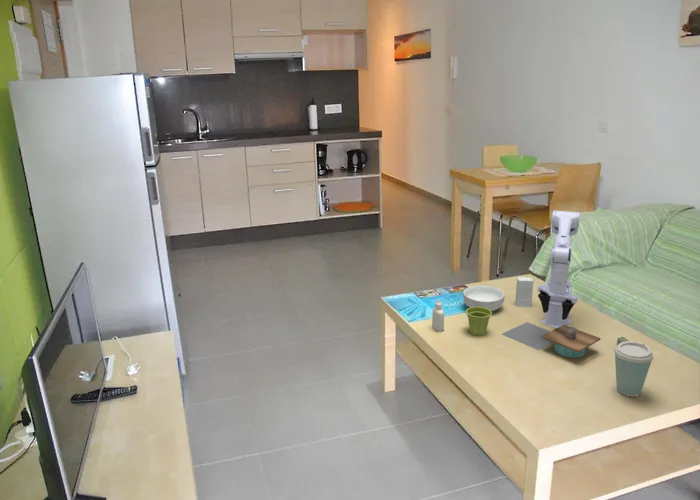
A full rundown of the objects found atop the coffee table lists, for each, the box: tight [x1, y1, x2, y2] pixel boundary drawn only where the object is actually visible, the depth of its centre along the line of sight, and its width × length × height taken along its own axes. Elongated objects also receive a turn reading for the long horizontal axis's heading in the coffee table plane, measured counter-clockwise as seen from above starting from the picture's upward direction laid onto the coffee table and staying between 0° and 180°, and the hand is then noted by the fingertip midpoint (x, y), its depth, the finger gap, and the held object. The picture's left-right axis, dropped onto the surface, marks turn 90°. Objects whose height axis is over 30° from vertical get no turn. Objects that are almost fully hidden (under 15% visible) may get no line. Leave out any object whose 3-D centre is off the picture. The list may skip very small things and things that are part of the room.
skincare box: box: [514, 276, 534, 308], centre depth 228 cm, size 6×4×12 cm
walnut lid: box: [541, 324, 601, 352], centre depth 190 cm, size 14×14×4 cm
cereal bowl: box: [462, 284, 505, 312], centre depth 227 cm, size 17×17×7 cm
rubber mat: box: [501, 321, 554, 351], centre depth 203 cm, size 16×16×1 cm
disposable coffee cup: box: [613, 340, 654, 397], centre depth 166 cm, size 11×11×15 cm
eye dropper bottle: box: [431, 299, 445, 332], centre depth 209 cm, size 4×6×12 cm
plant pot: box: [465, 307, 493, 336], centre depth 206 cm, size 9×9×9 cm
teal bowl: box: [553, 343, 586, 359], centre depth 191 cm, size 10×10×5 cm
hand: (554, 315), depth 196 cm, fingers open, 7 cm apart
